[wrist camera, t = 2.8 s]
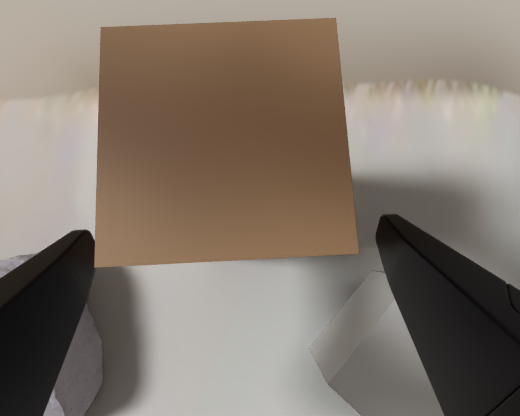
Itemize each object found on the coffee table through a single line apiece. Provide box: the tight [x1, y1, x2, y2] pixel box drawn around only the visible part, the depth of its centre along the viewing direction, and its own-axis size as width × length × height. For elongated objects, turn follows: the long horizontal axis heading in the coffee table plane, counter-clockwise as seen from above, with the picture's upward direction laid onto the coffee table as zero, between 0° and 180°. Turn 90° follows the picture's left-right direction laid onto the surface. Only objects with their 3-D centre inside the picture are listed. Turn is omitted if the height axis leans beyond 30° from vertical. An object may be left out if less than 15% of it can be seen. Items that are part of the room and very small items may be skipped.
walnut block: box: [94, 18, 359, 268], centre depth 13 cm, size 5×5×13 cm
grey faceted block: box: [309, 271, 444, 416], centre depth 16 cm, size 6×6×5 cm
